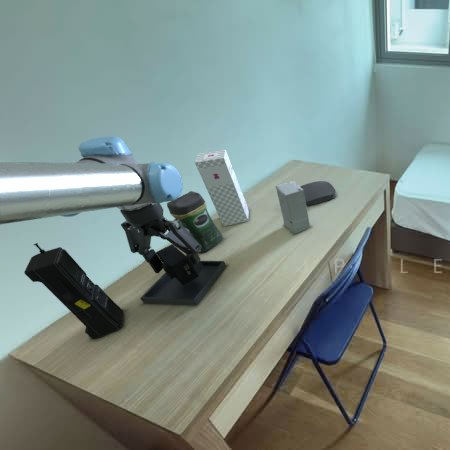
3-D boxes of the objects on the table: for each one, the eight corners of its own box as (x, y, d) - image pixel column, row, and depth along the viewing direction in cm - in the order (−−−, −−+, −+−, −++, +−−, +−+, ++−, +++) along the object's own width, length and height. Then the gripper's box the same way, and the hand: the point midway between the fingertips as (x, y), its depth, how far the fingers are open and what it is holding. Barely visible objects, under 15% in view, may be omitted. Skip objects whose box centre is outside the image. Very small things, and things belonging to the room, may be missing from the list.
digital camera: (162, 272, 88) (150, 254, 84) (182, 262, 91) (172, 243, 87) (178, 288, 82) (166, 269, 78) (199, 276, 86) (188, 257, 82)
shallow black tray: (197, 305, 82) (193, 299, 81) (143, 303, 83) (139, 298, 82) (226, 266, 94) (224, 260, 93) (180, 265, 96) (177, 260, 94)
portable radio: (123, 331, 76) (53, 254, 62) (92, 343, 73) (11, 266, 59) (124, 310, 81) (61, 235, 67) (96, 321, 79) (23, 246, 64)
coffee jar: (211, 233, 109) (188, 187, 98) (227, 238, 106) (205, 191, 95) (186, 250, 102) (158, 201, 91) (202, 255, 99) (176, 206, 88)
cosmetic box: (284, 225, 112) (272, 186, 102) (302, 217, 115) (292, 179, 106) (294, 235, 106) (282, 195, 97) (313, 226, 110) (303, 187, 101)
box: (225, 214, 119) (198, 153, 104) (248, 209, 121) (225, 149, 107) (223, 226, 112) (194, 162, 98) (248, 220, 115) (223, 157, 100)
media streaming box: (303, 208, 120) (302, 201, 119) (294, 193, 131) (292, 186, 129) (338, 197, 126) (337, 191, 124) (327, 184, 137) (326, 178, 135)
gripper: (194, 195, 75) (226, 262, 88) (106, 195, 77) (150, 260, 90) (173, 211, 69) (212, 281, 82) (78, 211, 71) (130, 279, 84)
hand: (179, 270), depth 86 cm, fingers closed on digital camera, 11 cm apart
